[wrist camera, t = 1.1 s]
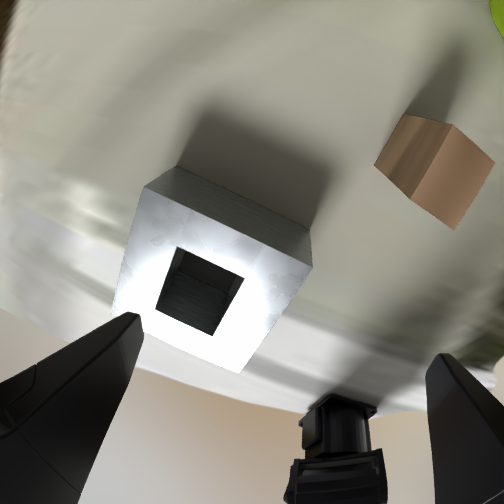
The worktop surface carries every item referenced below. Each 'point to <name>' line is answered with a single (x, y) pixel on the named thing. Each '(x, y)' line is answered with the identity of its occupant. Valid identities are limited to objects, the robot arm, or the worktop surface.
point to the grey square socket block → (218, 252)
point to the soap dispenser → (498, 14)
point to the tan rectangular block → (435, 166)
